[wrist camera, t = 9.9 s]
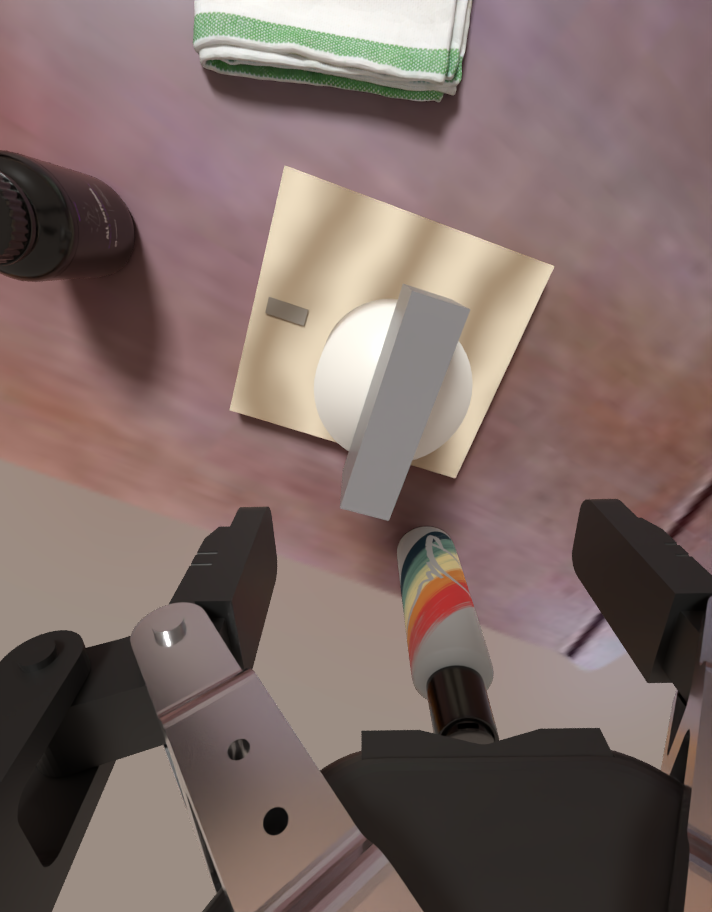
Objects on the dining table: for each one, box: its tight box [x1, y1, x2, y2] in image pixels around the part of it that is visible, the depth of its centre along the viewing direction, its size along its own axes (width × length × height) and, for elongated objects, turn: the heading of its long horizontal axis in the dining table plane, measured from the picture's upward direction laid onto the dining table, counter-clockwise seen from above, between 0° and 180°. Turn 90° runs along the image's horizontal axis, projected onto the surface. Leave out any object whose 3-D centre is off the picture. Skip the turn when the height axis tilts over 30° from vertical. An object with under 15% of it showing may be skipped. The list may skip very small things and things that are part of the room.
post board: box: [230, 166, 554, 478], centre depth 33 cm, size 20×18×10 cm
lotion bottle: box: [397, 527, 499, 744], centre depth 37 cm, size 6×6×20 cm
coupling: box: [314, 284, 473, 521], centre depth 24 cm, size 10×8×9 cm
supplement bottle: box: [0, 150, 135, 282], centre depth 29 cm, size 7×7×12 cm
